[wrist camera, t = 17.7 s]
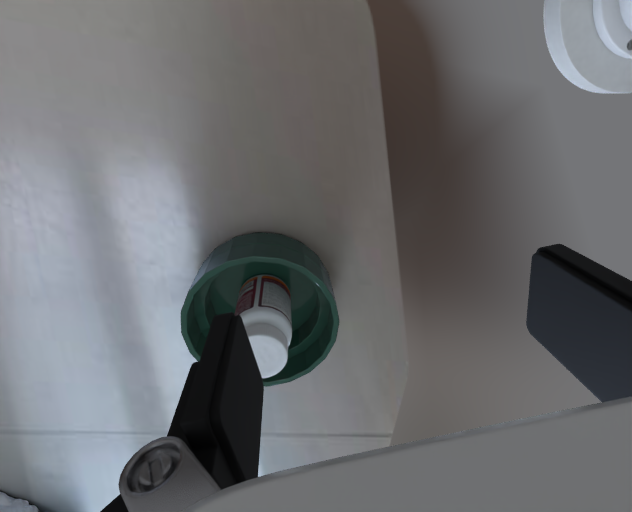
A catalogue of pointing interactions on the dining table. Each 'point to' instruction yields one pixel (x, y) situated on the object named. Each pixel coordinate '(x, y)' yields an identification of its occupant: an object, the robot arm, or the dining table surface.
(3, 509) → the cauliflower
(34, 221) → the dining table surface
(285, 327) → the pill bottle
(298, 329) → the green faceted bowl
